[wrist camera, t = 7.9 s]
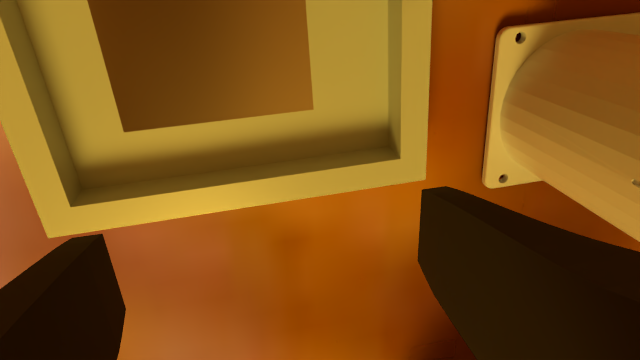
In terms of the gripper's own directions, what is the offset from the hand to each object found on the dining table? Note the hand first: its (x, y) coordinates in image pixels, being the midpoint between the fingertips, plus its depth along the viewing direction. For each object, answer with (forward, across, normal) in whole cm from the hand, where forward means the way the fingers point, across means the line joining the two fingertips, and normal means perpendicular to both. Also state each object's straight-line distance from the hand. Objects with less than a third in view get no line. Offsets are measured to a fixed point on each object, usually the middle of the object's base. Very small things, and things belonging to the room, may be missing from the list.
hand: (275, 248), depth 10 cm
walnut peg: (+10, +1, -5) cm, 11 cm away
